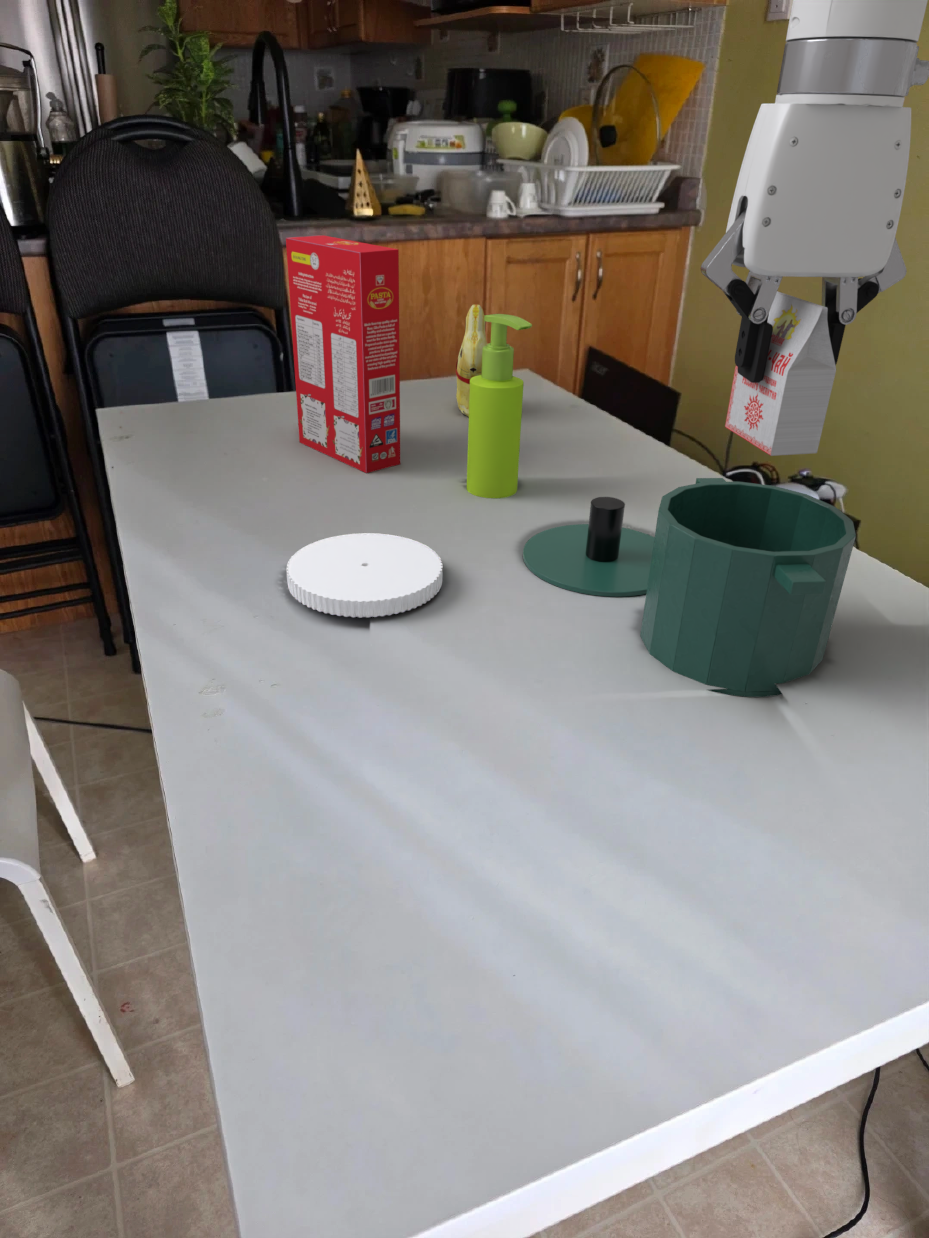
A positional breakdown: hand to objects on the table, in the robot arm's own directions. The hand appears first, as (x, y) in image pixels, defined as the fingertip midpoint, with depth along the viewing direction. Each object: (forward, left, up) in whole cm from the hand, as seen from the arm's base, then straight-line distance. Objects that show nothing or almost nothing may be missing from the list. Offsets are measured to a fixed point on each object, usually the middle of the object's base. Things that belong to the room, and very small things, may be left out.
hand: (782, 375), depth 63 cm
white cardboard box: (0, 0, -5) cm, 5 cm away
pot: (0, +1, -23) cm, 23 cm away
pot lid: (+7, -15, -22) cm, 28 cm away
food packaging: (+32, -49, -23) cm, 63 cm away
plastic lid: (+30, -11, -23) cm, 39 cm away
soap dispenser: (+15, -34, -23) cm, 44 cm away
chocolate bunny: (+13, -68, -23) cm, 73 cm away
